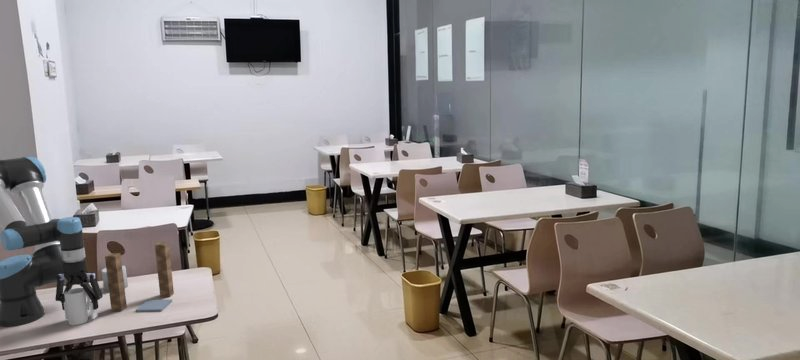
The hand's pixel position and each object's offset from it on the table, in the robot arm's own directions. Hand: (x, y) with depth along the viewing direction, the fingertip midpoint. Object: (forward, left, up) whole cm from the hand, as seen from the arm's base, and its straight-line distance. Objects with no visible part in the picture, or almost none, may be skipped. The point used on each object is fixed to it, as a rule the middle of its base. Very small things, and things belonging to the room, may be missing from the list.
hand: (81, 317), depth 217 cm
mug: (0, 0, -1) cm, 1 cm away
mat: (+22, +12, -1) cm, 25 cm away
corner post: (+9, +10, -1) cm, 13 cm away
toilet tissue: (-5, +36, -1) cm, 36 cm away
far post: (+22, +24, -1) cm, 33 cm away
